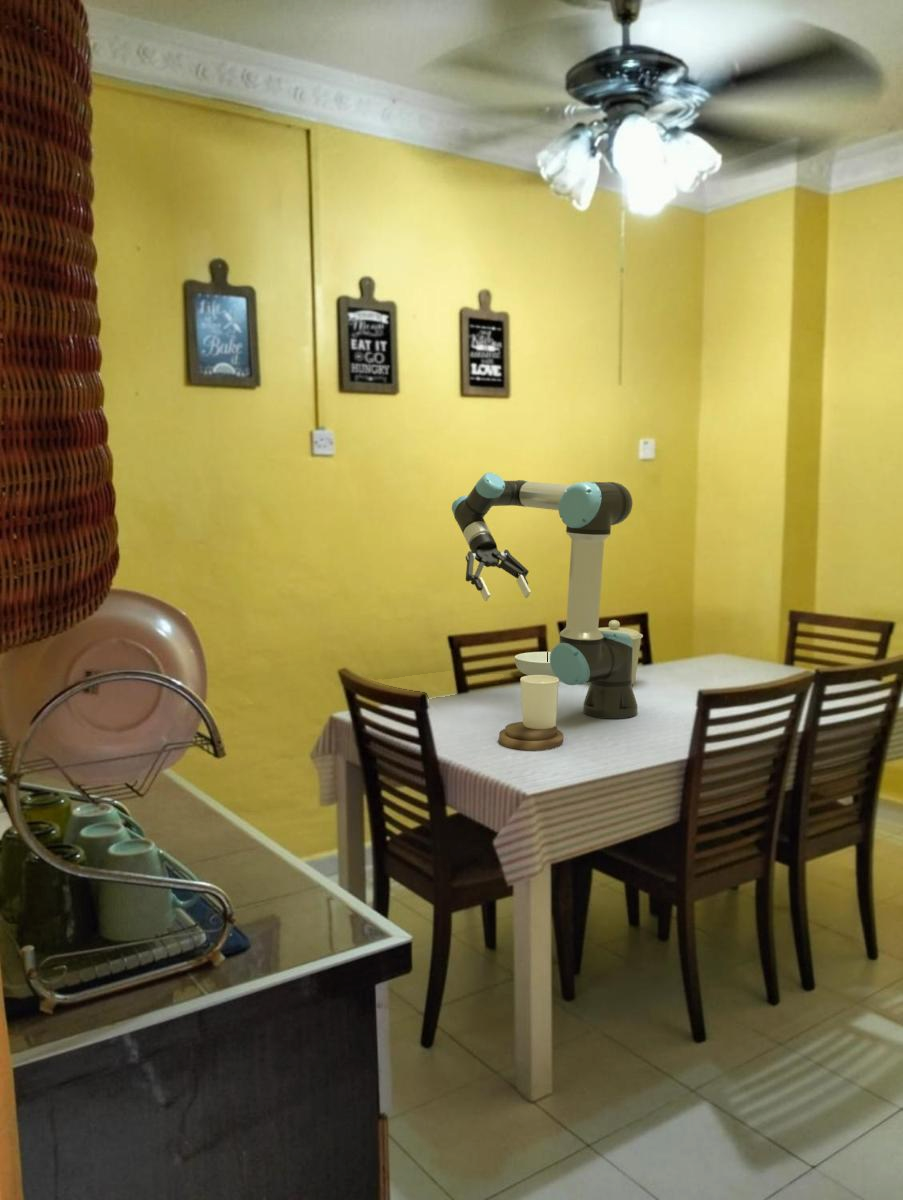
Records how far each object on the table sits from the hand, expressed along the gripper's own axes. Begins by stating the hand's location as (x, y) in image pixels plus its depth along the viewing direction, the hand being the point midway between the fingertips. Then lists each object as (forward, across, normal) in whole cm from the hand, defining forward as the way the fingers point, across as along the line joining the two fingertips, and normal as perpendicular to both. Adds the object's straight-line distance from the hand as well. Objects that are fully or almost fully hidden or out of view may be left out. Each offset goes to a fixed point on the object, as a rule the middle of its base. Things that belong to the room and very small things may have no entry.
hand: (508, 596), depth 261 cm
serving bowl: (0, -36, -46) cm, 59 cm away
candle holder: (+42, +10, 0) cm, 43 cm away
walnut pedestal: (+45, +13, -2) cm, 46 cm away
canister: (+16, -47, -30) cm, 58 cm away
